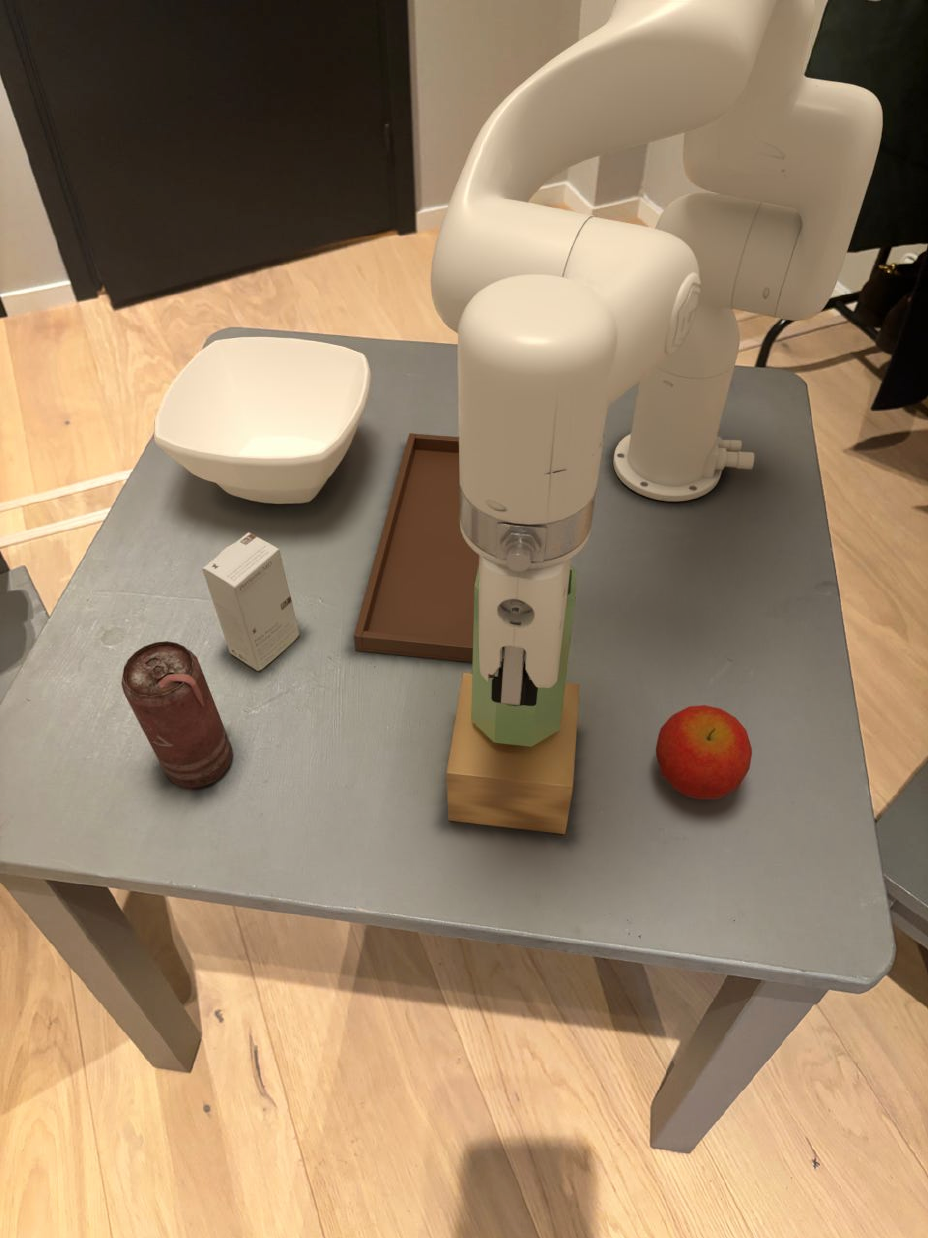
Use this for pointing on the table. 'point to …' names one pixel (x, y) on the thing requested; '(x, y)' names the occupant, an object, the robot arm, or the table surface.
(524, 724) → the green cup
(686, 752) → the apple
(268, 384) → the bowl
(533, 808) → the block
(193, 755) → the can
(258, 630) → the cosmetic box
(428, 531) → the tray
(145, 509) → the table surface
